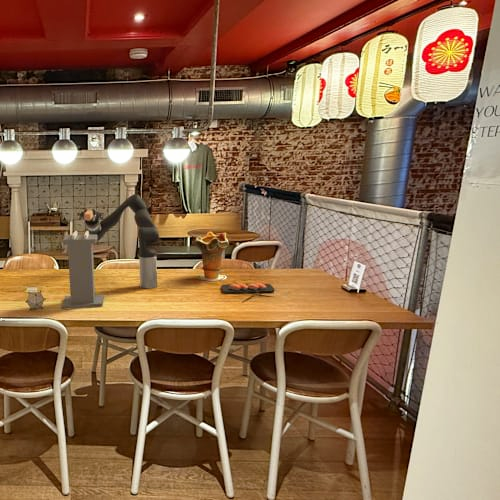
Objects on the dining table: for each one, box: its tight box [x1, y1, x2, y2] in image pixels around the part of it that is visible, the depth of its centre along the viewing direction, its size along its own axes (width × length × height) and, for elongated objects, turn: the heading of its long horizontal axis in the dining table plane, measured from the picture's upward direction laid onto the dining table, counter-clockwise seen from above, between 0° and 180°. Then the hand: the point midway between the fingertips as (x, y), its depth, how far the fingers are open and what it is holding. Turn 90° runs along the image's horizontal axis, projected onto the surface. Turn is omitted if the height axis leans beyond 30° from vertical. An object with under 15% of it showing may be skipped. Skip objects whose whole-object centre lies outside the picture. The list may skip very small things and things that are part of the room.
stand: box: [60, 230, 105, 310], centre depth 198 cm, size 18×17×34 cm
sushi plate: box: [220, 282, 275, 303], centre depth 223 cm, size 29×30×4 cm
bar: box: [84, 209, 93, 221], centre depth 221 cm, size 22×3×3 cm, turn 17°
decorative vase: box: [195, 231, 230, 282], centre depth 252 cm, size 21×23×28 cm
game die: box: [24, 290, 47, 311], centre depth 190 cm, size 9×8×10 cm
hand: (89, 210), depth 226 cm, fingers closed on bar, 3 cm apart
